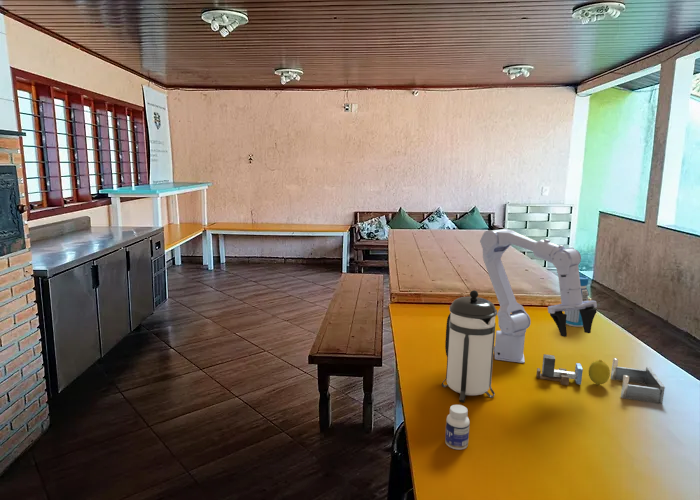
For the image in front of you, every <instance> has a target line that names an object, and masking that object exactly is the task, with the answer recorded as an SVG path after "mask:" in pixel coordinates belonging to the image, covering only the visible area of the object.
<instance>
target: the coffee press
mask: <svg viewBox="0 0 700 500" xmlns="http://www.w3.org/2000/svg"><path fill="white" fill-rule="evenodd" d="M448 309H449V310H448V311H449V314H448V315H447V318H446V324H445V325H446V326H445V341H444V344H445V355H446V373H445V374H446V375H445V379H444V380H443V381H442V383H441V387H442V388H444V389H446V388H447V387H449V388H450V389H451V390H452V391H454V392H456V393H459V394H460V395H459V398H458V399H459V402H460V403H465V401H466V398H467V396H479V395H483V394H486V395H487V396H488V397H489V398H490V399H493V398H494V397H495V394H496V393H495V391H494V389H493V388H492V376H493V363H494V346H495V339H496V326H497V325H496V316H498V315H497V313H498V309H497V308H496V306H495V304H494V302H492V301H490V300H488V299H486V298H483V297H479V292H478V291H477V290H475V289H473V290H471V291H470V293H469V296H460V297H458V298H456V299H454V300H453V301H452V303H451V304H450V305H449V308H448ZM445 381H446V383H447V384H445V383H444V382H445ZM489 390H490V392H491V393H490V392H488V391H489Z"/></svg>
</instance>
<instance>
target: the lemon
mask: <svg viewBox="0 0 700 500" xmlns="http://www.w3.org/2000/svg"><path fill="white" fill-rule="evenodd" d="M610 371H611V370H610V367H609V365H608V363H606V362H605V361H603V360H602V359H599V360H598V359H597V360H595V361H592V362H591V364H590V365H589V368H588V377H589V379H590V380H591V381H592V382H593V383H595V385H596V386H600V385H604V384H606V383H607V382H608V381H609V379H610V377H611V372H610Z"/></svg>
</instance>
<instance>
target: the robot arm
mask: <svg viewBox="0 0 700 500" xmlns="http://www.w3.org/2000/svg"><path fill="white" fill-rule="evenodd" d="M479 243H480V245H481V248H482V259H483V262H484V266H485V268H486V271H487V273H488V274H487V275H488V276H489V279H490V281H491V286H492V287H493V288H492V289H493V290H494V292H495V295H496V298H497V299H496V300H497V301H498V304H499V309H498V310H497V315H496V316H497V318H498V328H499V329H500V330H495V339H494V351H493V353H494V360H496V361H503V362H504V361H505V362H512V363H519V364H525V355H524V350H525V339H526V338H525V337H526V333H527V329H529V327H530V326H531V324H532V323H531V322H532V321H531V317H530V315H529V314H528V313H527V311H526V310H525V308H524V306H523V305H522V304H520V303H519V302H517V299H516V296H515V294H514V292H513V289H512V286H511V283H510V281H509V277H508V275H507V273H506V269H505V267H504V265H503V262H502V257H503V255H504V253H505V252H506V251H507V250H508V249H509V247H510V246H512V245H513V246H517V247H519V248H522V249H525V250H528V251H532V253H533V255H534V257H536V258H538V259H541V260H543V261H545V262H548V263H551V264H553V267H555V269H556V273H557V278H558V285H559V293H560V294H559V295H560V302H561V303H558V304H554V305H549V306H547V312H548V314H549V315H550V317H551V319H552V320H553V321H554V323H555V324H556V327H557V328H558V331H559V335H560V336H561V337H563V338H567V336H568V332H567V324H566V317H567V315H566V314H565V311H571V310H578V309H579V311H580V314H581V317H582V321H583V327H582V328H583V332H584V333H586V334H591V332H592V326H593V322H594V318H595V316H596V314H597V311H598V310H597V308H598V304H597V303H598V302H597V301H596V300H588V301H582V294H581V285H580V277H579V275H580V270H579V265H580V264H581V262H582V261H581V260H582V255H581V253H580V252H579V250H578V249H575V248H574V247H568V248H566V247H565V246H564V245H562V244H559V245H558V244H556V243H553V242H551V240H550V239H548V238H545V239H540V240H537V241H536V240H535V239H532V238H531V237H528V236H525V235H523V234H520V233H518V232H516V231H515V230H512V229H509V228H502V229H493V230H491V229H487V230H485V231H484V232H483V233H482V236H481V238H480V240H479ZM568 308H571V309H568Z"/></svg>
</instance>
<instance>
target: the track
mask: <svg viewBox="0 0 700 500" xmlns="http://www.w3.org/2000/svg"><path fill="white" fill-rule="evenodd" d="M558 370H562V371H568V370H567V369H566V368H562V367H558ZM536 379H538V380H547V381H555V382H560V385H562V386H569V383H570V379H569V376H564V375H561V377H547V376H543V375H542V370H541V368H539V367H538V368H536Z"/></svg>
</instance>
